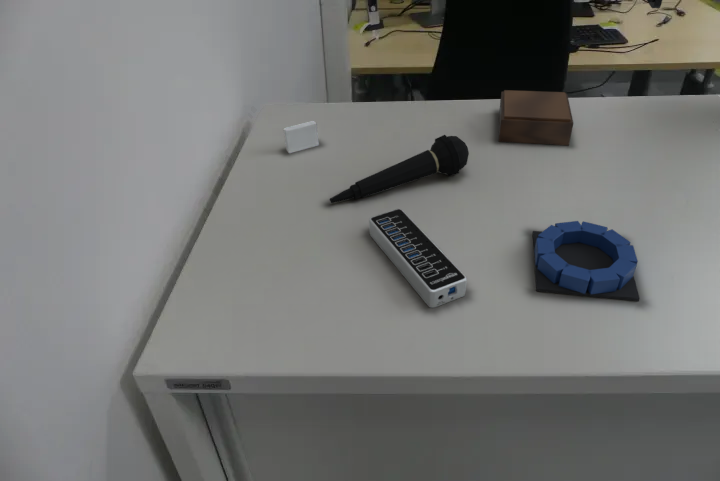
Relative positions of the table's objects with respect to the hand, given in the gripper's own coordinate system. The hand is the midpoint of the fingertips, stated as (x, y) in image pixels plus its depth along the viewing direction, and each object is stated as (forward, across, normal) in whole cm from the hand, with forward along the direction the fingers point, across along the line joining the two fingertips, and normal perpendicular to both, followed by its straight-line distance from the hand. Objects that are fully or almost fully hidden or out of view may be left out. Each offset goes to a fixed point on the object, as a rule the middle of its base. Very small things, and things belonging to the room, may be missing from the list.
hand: (698, 5), depth 58 cm
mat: (+22, +9, +16) cm, 29 cm away
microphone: (+22, +31, +2) cm, 38 cm away
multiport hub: (+22, +28, +18) cm, 40 cm away
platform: (+23, +13, -16) cm, 31 cm away
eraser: (+22, +47, -7) cm, 53 cm away
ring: (+22, +9, +16) cm, 29 cm away
